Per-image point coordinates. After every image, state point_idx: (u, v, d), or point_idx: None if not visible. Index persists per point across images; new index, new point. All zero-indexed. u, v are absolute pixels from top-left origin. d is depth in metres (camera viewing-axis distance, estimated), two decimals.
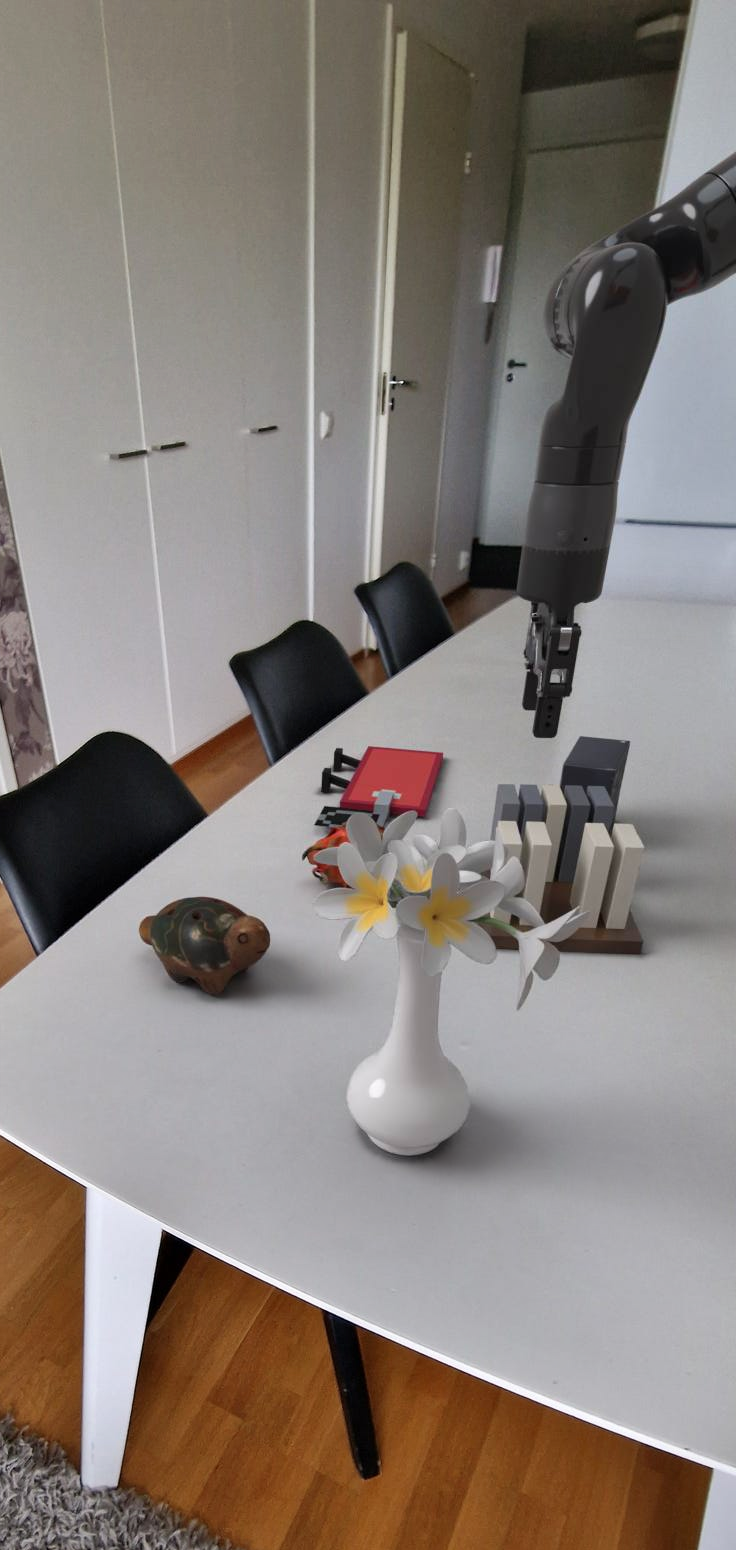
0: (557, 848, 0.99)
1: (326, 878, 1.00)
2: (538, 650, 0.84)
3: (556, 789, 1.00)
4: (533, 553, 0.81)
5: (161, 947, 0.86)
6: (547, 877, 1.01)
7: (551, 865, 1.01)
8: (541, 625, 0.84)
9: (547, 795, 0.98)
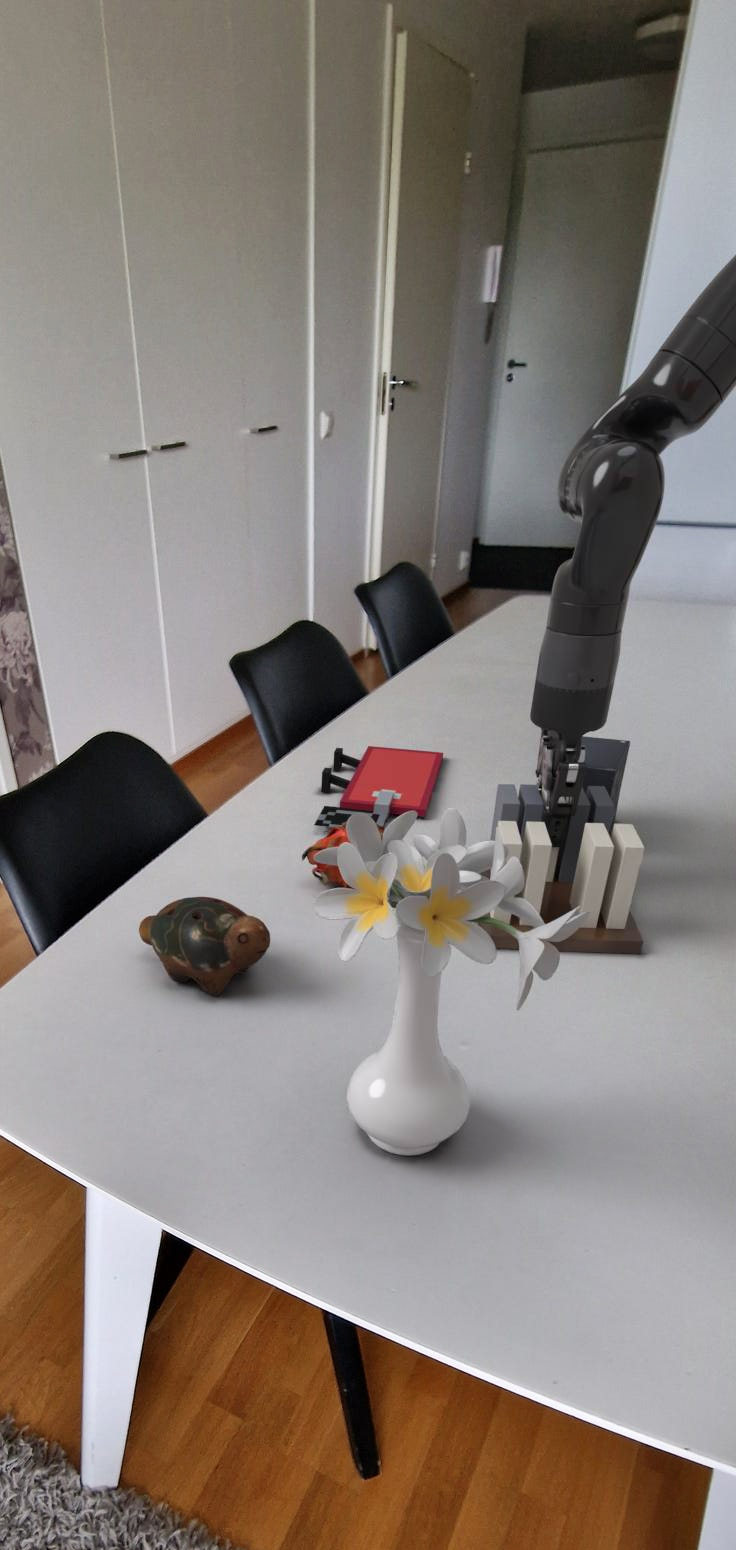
0: (557, 848, 0.99)
1: (326, 878, 1.00)
2: (548, 773, 0.95)
3: None
4: (545, 689, 0.90)
5: (161, 947, 0.86)
6: (547, 877, 1.01)
7: (551, 865, 1.01)
8: (552, 749, 0.94)
9: None
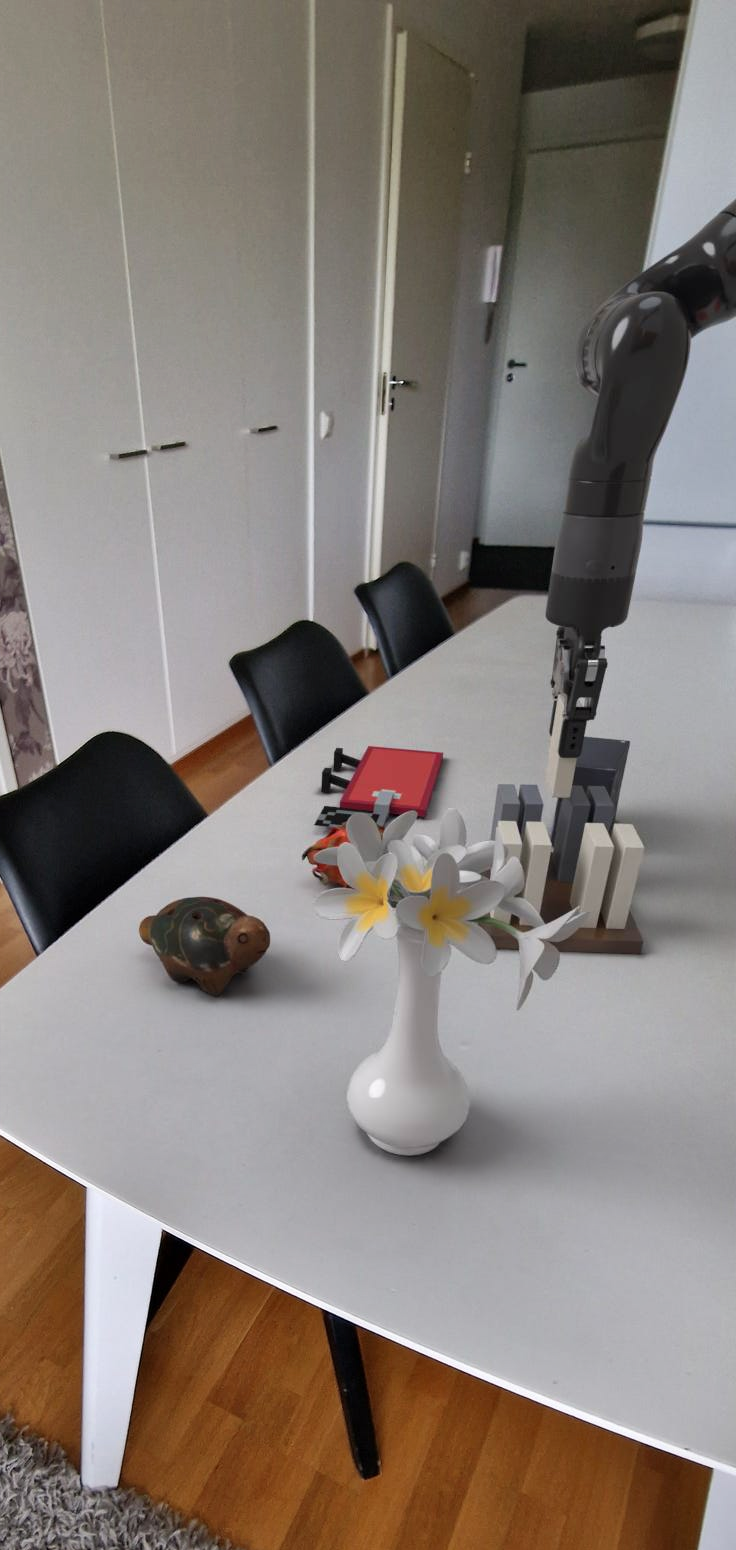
0: (574, 760, 0.93)
1: (326, 878, 1.00)
2: (565, 675, 0.89)
3: None
4: (562, 580, 0.85)
5: (161, 947, 0.86)
6: (564, 792, 0.96)
7: (568, 779, 0.95)
8: (569, 649, 0.88)
9: (563, 703, 0.93)
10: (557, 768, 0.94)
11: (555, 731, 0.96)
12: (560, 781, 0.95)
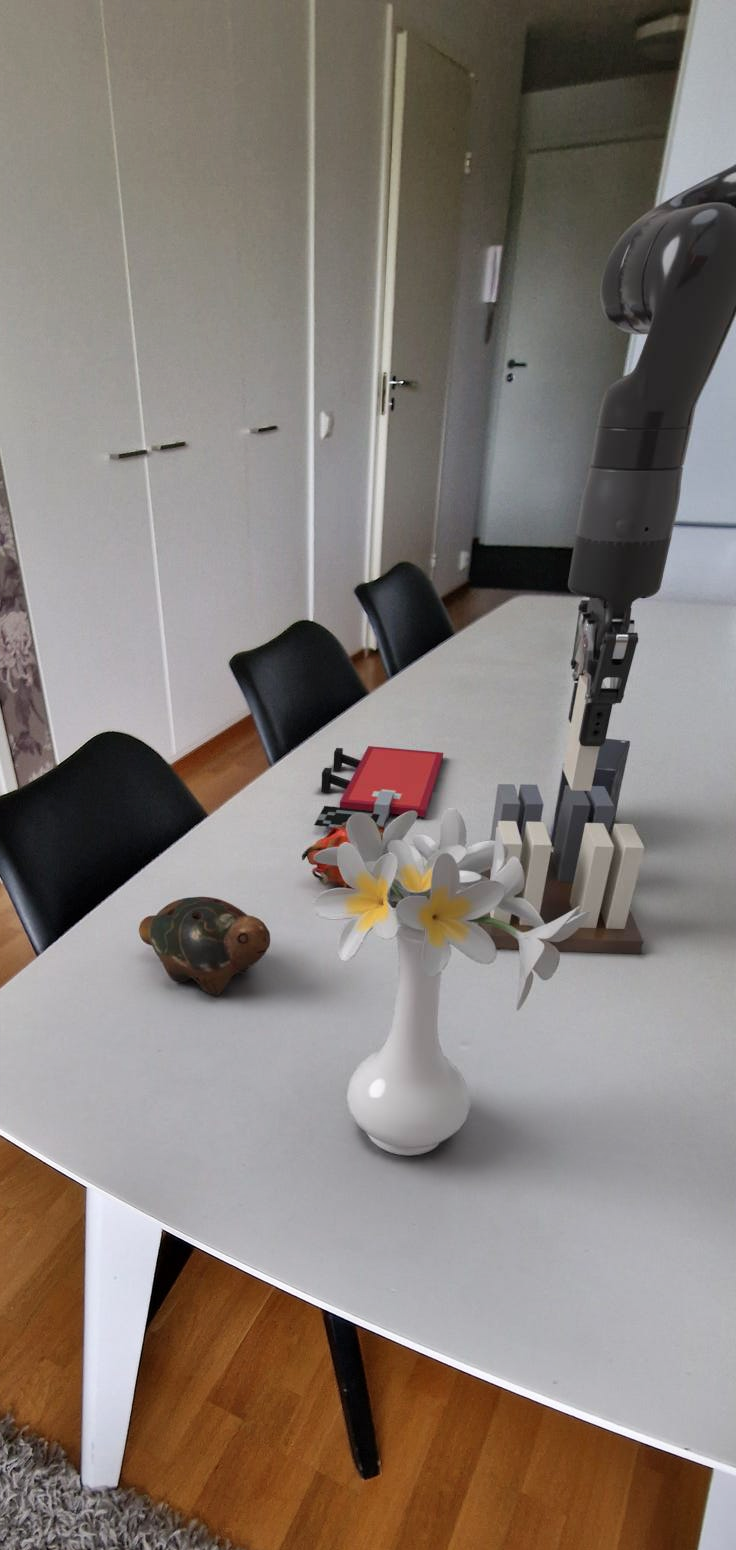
0: (597, 748, 0.84)
1: (326, 878, 1.00)
2: (589, 652, 0.79)
3: None
4: (588, 544, 0.75)
5: (161, 947, 0.86)
6: (584, 785, 0.86)
7: (589, 770, 0.85)
8: (594, 624, 0.79)
9: (586, 684, 0.83)
10: (577, 757, 0.85)
11: (575, 717, 0.86)
12: (581, 772, 0.85)
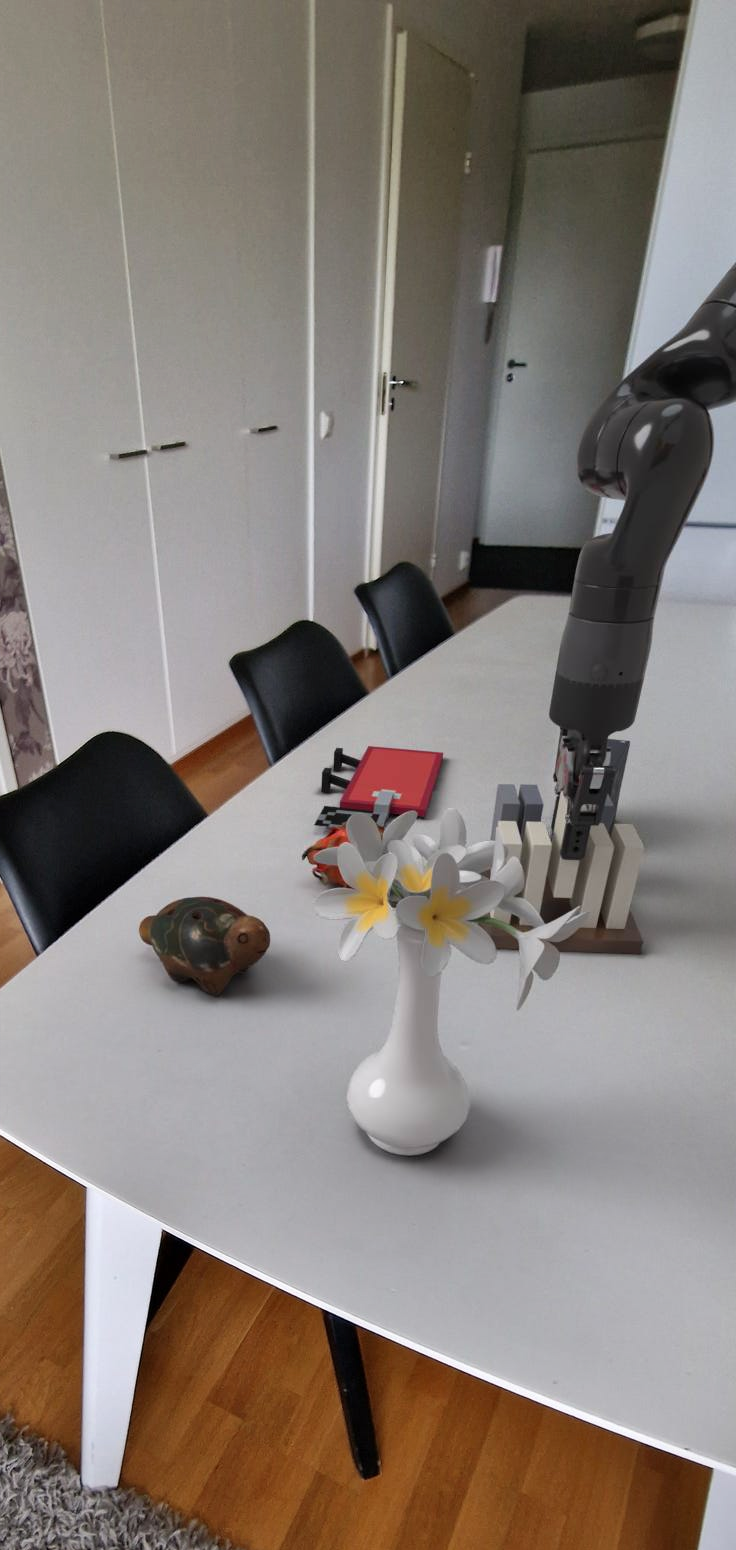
0: (577, 861, 0.89)
1: (326, 878, 1.00)
2: (569, 777, 0.85)
3: None
4: (567, 683, 0.80)
5: (161, 947, 0.86)
6: (566, 893, 0.91)
7: (570, 879, 0.91)
8: (574, 751, 0.84)
9: (566, 802, 0.89)
10: (559, 869, 0.90)
11: (557, 828, 0.92)
12: (562, 881, 0.91)
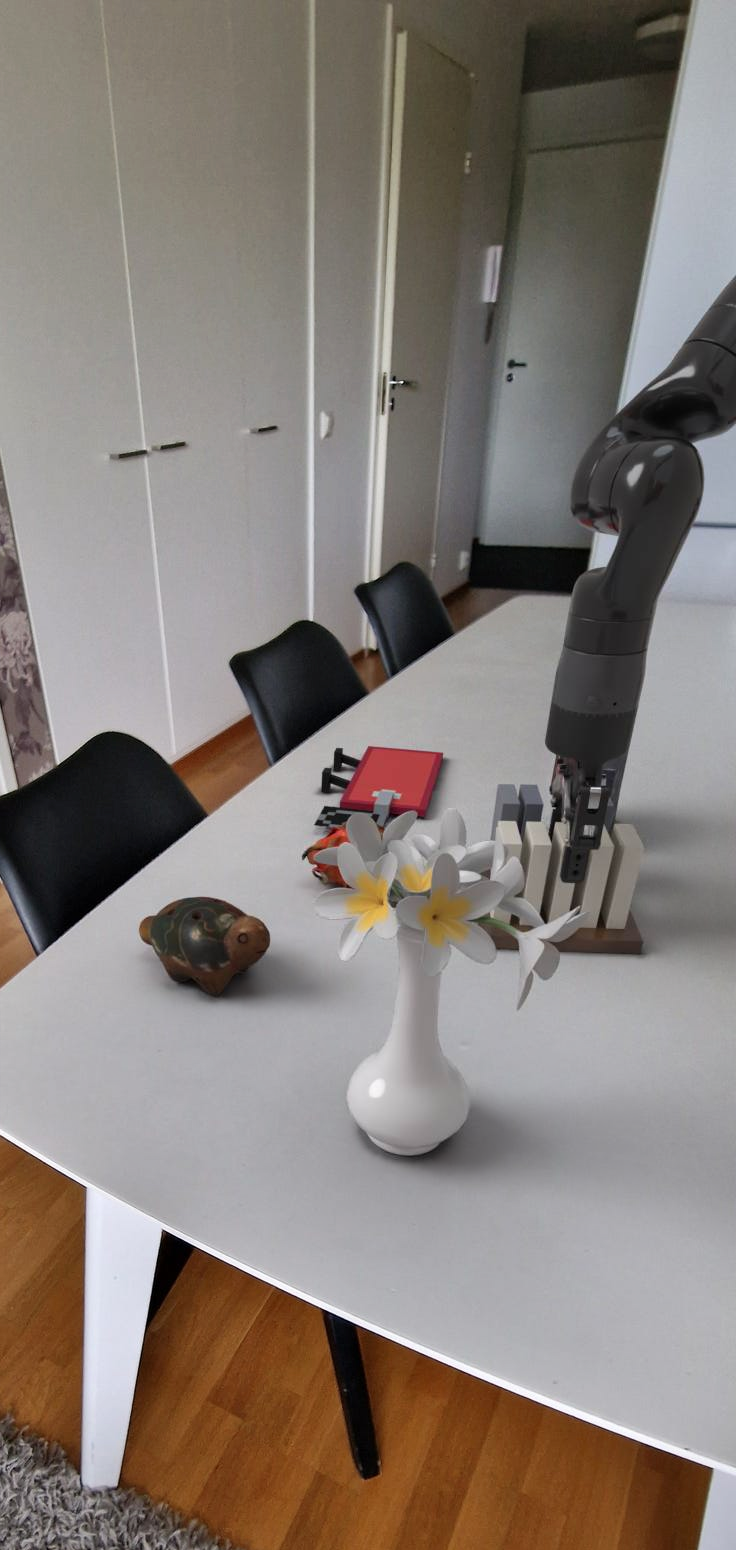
0: (571, 891, 0.91)
1: (326, 878, 1.00)
2: (566, 801, 0.86)
3: None
4: (562, 713, 0.82)
5: (161, 947, 0.86)
6: None
7: (565, 909, 0.93)
8: (570, 777, 0.86)
9: (561, 834, 0.91)
10: (553, 899, 0.92)
11: (552, 859, 0.94)
12: (557, 911, 0.93)
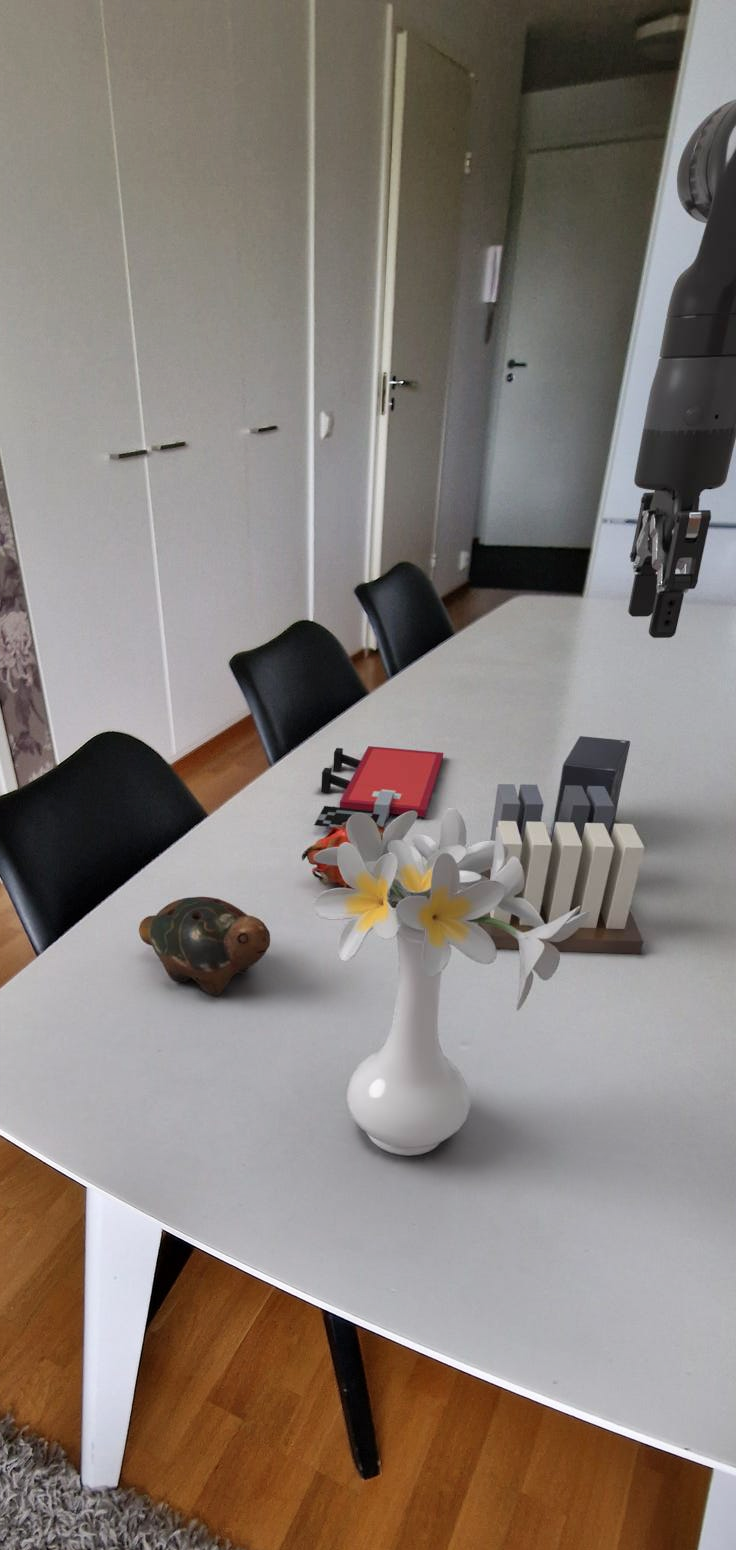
0: (571, 891, 0.91)
1: (326, 878, 1.00)
2: (658, 542, 0.81)
3: (571, 827, 0.92)
4: (658, 436, 0.77)
5: (161, 947, 0.86)
6: None
7: (565, 909, 0.93)
8: (661, 516, 0.81)
9: (561, 834, 0.91)
10: (553, 899, 0.92)
11: (552, 859, 0.94)
12: (557, 911, 0.93)
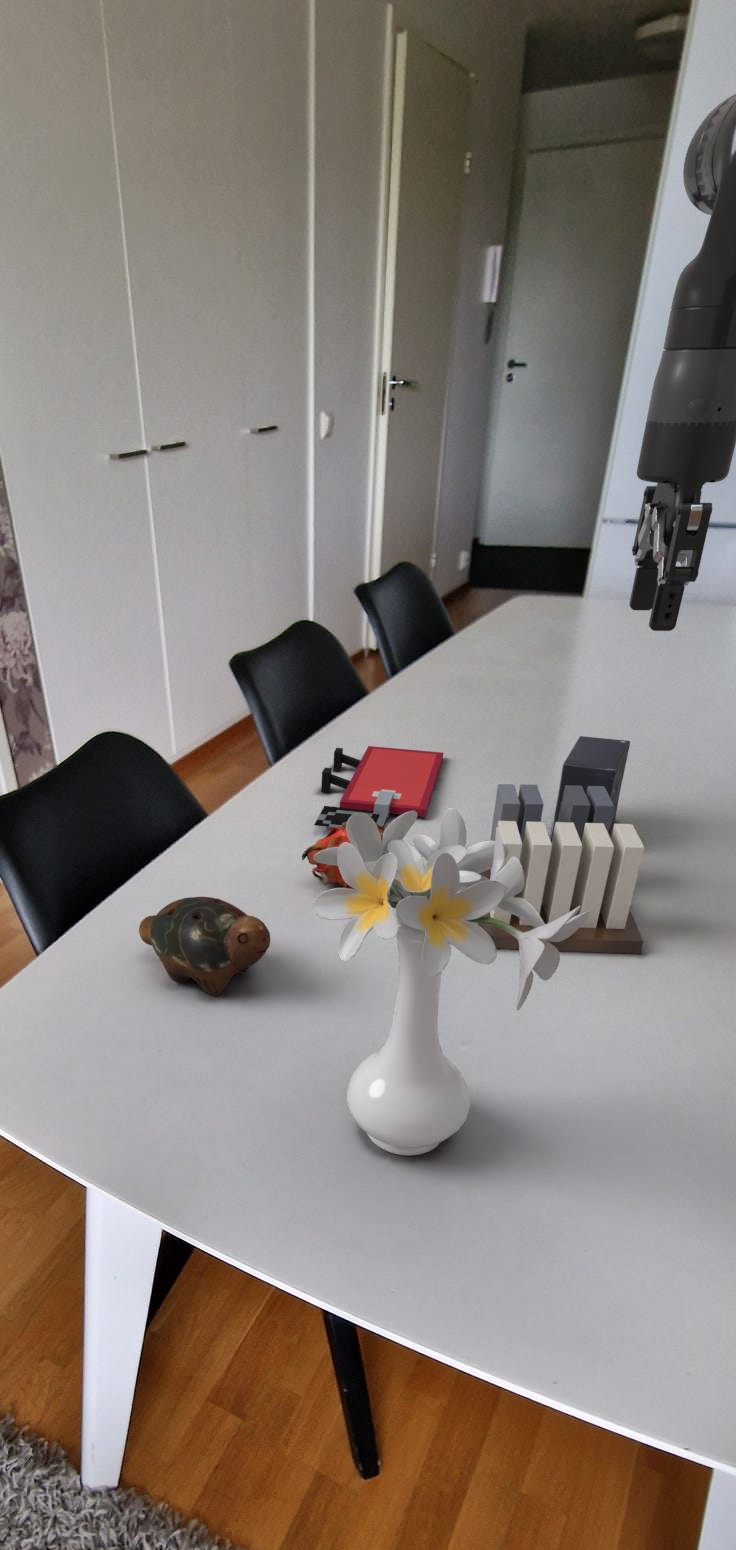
0: (571, 891, 0.91)
1: (326, 878, 1.00)
2: (660, 535, 0.81)
3: (571, 827, 0.92)
4: (661, 428, 0.77)
5: (161, 947, 0.86)
6: None
7: (565, 909, 0.93)
8: (663, 509, 0.81)
9: (561, 834, 0.91)
10: (553, 899, 0.92)
11: (552, 859, 0.94)
12: (557, 911, 0.93)
